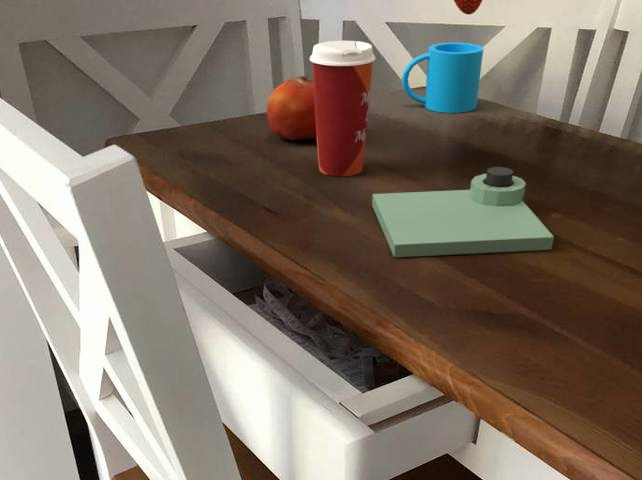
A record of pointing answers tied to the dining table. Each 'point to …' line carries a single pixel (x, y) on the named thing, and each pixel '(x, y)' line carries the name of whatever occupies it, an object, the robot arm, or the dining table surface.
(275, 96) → the tomato
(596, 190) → the dining table surface
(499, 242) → the scale
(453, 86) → the mug
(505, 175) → the button
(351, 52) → the paper cup
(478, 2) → the fruit
